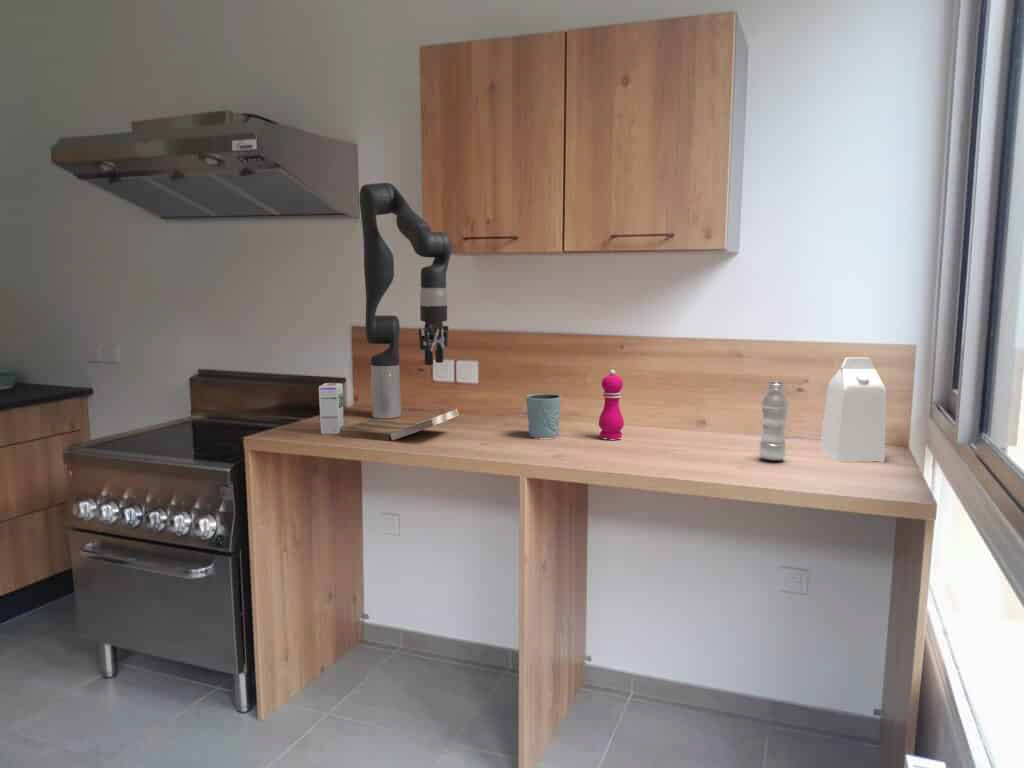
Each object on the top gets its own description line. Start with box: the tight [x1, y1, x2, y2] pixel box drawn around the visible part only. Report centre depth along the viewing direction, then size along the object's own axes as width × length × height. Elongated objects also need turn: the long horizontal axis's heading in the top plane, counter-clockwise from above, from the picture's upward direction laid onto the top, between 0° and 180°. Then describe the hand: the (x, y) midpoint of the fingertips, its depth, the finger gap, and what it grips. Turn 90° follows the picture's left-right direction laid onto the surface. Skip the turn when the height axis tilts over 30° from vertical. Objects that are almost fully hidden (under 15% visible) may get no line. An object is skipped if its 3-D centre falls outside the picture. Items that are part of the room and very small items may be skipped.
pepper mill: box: [598, 369, 625, 439], centre depth 216 cm, size 7×7×20 cm
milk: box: [819, 357, 887, 461], centre depth 195 cm, size 12×12×26 cm
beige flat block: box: [390, 408, 460, 441], centre depth 218 cm, size 17×14×2 cm
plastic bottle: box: [758, 381, 790, 462], centre depth 191 cm, size 6×7×20 cm
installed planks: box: [340, 418, 417, 442], centre depth 223 cm, size 17×16×2 cm
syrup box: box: [318, 382, 345, 435], centre depth 223 cm, size 6×6×14 cm
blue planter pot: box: [525, 392, 562, 439], centre depth 219 cm, size 10×10×12 cm
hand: (434, 363), depth 214 cm, fingers open, 6 cm apart
